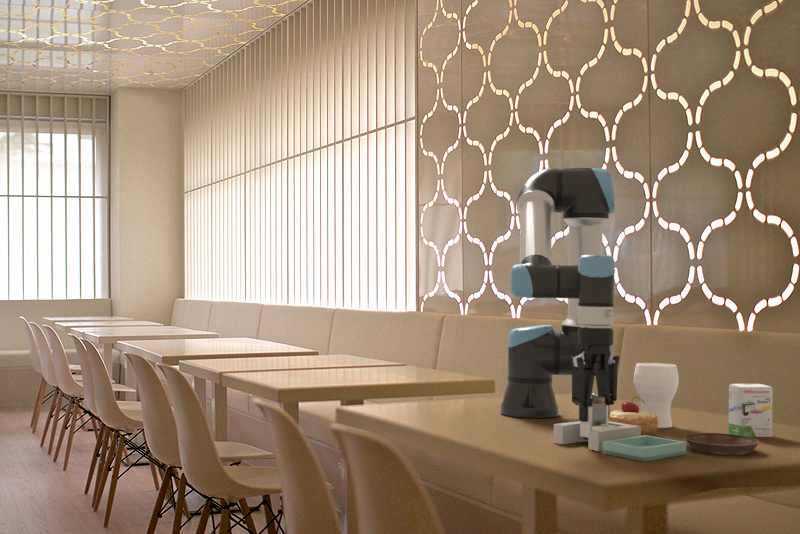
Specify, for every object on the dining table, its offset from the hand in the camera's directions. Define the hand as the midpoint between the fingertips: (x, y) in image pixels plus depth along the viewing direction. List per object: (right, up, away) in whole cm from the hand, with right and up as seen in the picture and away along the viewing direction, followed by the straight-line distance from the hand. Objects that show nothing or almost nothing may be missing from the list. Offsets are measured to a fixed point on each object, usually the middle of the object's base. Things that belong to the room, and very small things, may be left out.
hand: (594, 435), depth 191 cm
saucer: (+26, -3, -4) cm, 26 cm away
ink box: (+40, -3, +16) cm, 43 cm away
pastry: (+12, -3, +14) cm, 18 cm away
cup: (+21, -3, +28) cm, 35 cm away
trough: (+8, -2, -10) cm, 13 cm away
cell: (0, -1, 0) cm, 1 cm away
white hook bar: (0, -2, 0) cm, 2 cm away
